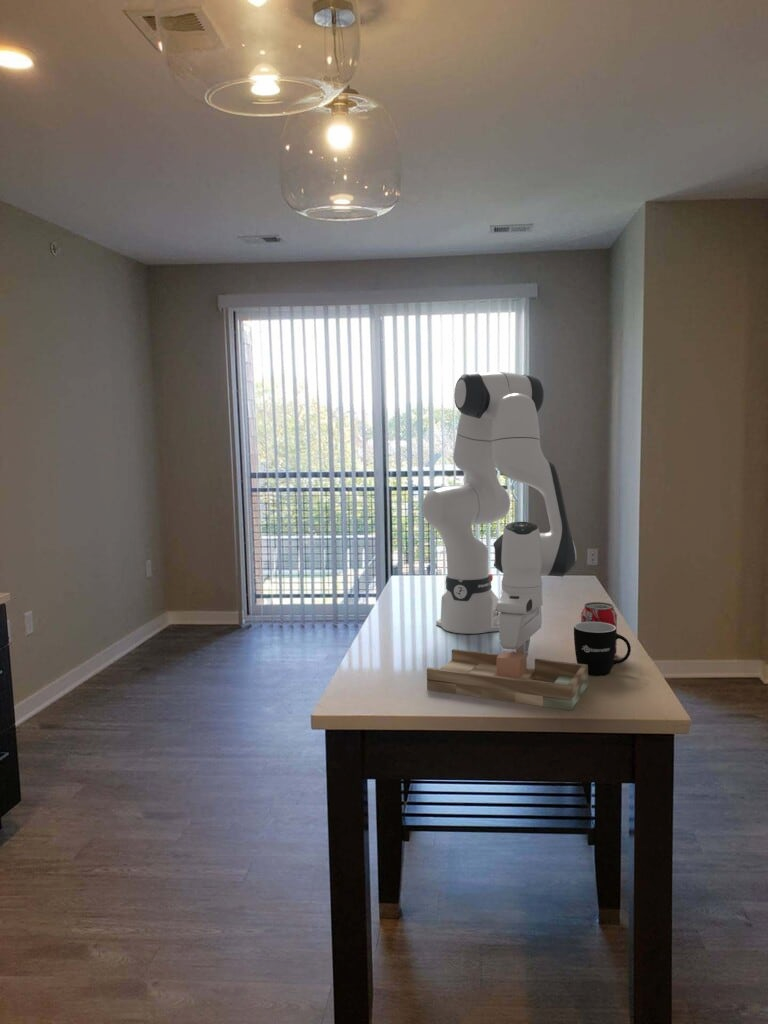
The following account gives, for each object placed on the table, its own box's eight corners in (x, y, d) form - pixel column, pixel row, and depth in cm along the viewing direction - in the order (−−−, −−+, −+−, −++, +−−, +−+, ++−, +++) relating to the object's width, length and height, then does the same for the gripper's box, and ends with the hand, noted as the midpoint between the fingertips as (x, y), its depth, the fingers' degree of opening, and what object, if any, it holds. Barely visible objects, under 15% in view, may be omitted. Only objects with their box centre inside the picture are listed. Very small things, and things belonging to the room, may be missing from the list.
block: (504, 668, 162) (503, 650, 162) (526, 671, 160) (526, 653, 160) (496, 675, 158) (496, 657, 157) (519, 678, 156) (519, 660, 155)
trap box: (453, 668, 170) (453, 649, 170) (587, 685, 157) (587, 664, 156) (427, 689, 157) (426, 668, 156) (571, 710, 143) (571, 687, 143)
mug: (574, 677, 162) (574, 631, 161) (573, 664, 171) (573, 620, 170) (632, 680, 159) (632, 633, 158) (628, 666, 168) (629, 622, 167)
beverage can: (616, 661, 172) (617, 610, 171) (580, 659, 174) (581, 608, 173) (616, 651, 180) (616, 602, 178) (581, 649, 182) (581, 600, 181)
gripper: (521, 586, 175) (522, 644, 176) (493, 605, 157) (494, 670, 158) (548, 588, 172) (548, 647, 174) (523, 608, 154) (523, 673, 155)
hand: (522, 658), depth 166 cm, fingers closed
